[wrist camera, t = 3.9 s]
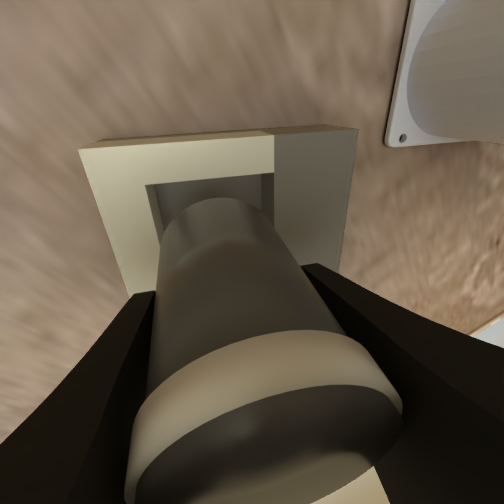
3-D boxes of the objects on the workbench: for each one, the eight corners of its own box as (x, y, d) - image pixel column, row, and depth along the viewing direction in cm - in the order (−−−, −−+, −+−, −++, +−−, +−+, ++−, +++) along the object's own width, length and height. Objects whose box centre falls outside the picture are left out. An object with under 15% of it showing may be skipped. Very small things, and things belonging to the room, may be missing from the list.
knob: (281, 285, 12) (382, 479, 6) (174, 310, 11) (173, 558, 5) (276, 182, 9) (450, 352, 3) (136, 207, 8) (48, 477, 3)
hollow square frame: (324, 124, 15) (358, 128, 12) (313, 258, 20) (336, 285, 17) (101, 139, 13) (77, 149, 10) (145, 284, 18) (137, 321, 15)
